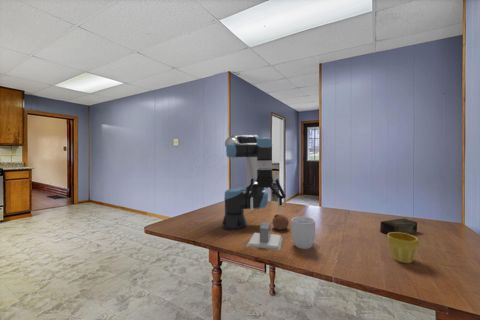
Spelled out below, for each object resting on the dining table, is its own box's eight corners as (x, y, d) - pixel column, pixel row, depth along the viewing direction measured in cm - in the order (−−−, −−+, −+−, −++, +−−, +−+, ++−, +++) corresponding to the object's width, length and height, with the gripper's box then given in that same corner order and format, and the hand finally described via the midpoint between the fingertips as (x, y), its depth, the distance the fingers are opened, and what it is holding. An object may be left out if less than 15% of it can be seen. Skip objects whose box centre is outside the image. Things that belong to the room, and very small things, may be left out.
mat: (246, 247, 105) (246, 246, 105) (253, 235, 121) (253, 234, 121) (280, 250, 101) (279, 249, 101) (282, 237, 116) (282, 236, 116)
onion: (274, 234, 128) (266, 219, 129) (283, 226, 135) (275, 211, 135) (286, 233, 121) (277, 217, 122) (294, 224, 128) (286, 209, 128)
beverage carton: (418, 232, 121) (418, 220, 121) (393, 237, 115) (393, 225, 114) (403, 227, 129) (403, 216, 128) (379, 232, 122) (379, 220, 122)
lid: (248, 245, 106) (248, 228, 106) (254, 234, 119) (254, 220, 119) (278, 248, 102) (277, 231, 102) (280, 237, 116) (280, 221, 115)
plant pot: (381, 254, 96) (381, 232, 96) (403, 252, 97) (403, 231, 97) (400, 266, 86) (400, 241, 86) (424, 264, 87) (425, 240, 86)
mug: (304, 238, 115) (304, 213, 115) (324, 244, 107) (324, 218, 106) (286, 246, 106) (286, 219, 105) (306, 254, 97) (306, 225, 97)
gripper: (238, 169, 109) (239, 211, 110) (289, 169, 102) (290, 214, 103) (242, 168, 116) (242, 208, 117) (290, 168, 110) (290, 210, 110)
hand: (265, 211), depth 110 cm, fingers open, 13 cm apart
